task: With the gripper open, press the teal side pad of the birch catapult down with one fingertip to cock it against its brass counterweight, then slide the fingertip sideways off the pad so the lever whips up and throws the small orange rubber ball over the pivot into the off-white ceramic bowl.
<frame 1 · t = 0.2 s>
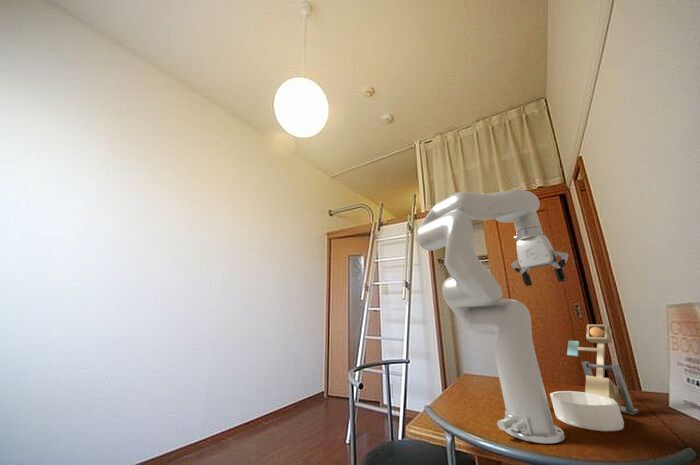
hand: (544, 283, 85), 37 cm above the table, tool pointing down, fingers open, 9 cm apart
ball: (597, 332, 83), point 20 cm above the table, touching lever
lever: (589, 361, 81), point 12 cm above the table, hinge at 50.0°, touching ball
pivot stand: (614, 408, 74), on the table
bowl: (587, 420, 67), on the table
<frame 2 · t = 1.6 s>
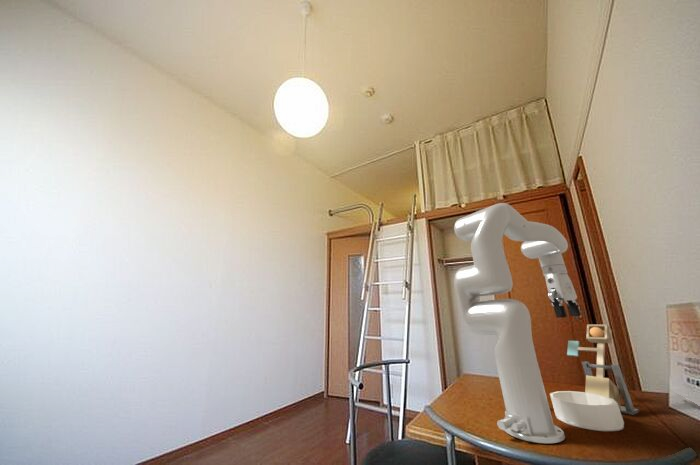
hand: (568, 316, 94), 26 cm above the table, tool pointing down, fingers open, 9 cm apart
nothing on the table moved.
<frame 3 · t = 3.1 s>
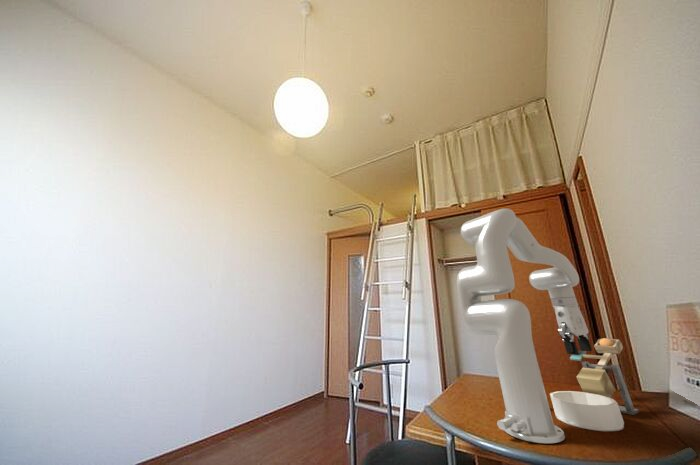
hand: (580, 352, 90), 13 cm above the table, tool pointing down, fingers open, 9 cm apart
ball: (606, 343, 84), point 17 cm above the table, tilted 30°, touching lever
lever: (591, 365, 81), point 11 cm above the table, hinge at 20.6°, touching ball, gripper
everything else where it was.
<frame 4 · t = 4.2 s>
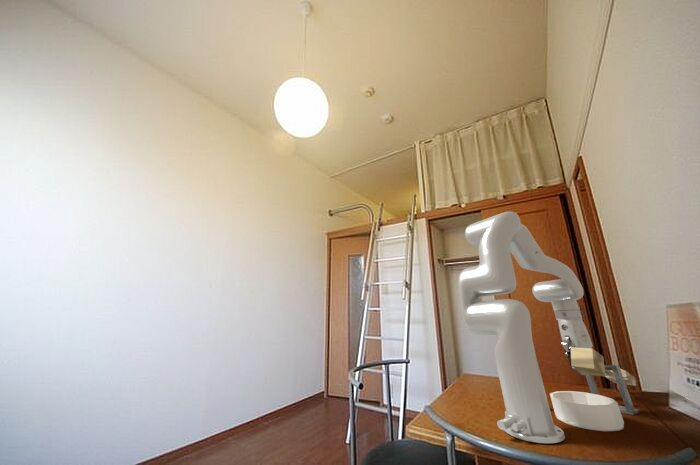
hand: (584, 366, 89), 9 cm above the table, tool pointing down, fingers open, 9 cm apart
ball: (619, 374, 81), point 8 cm above the table, tilted 99°, touching lever
lever: (591, 370, 80), point 9 cm above the table, hinge at -28.1°, touching ball, gripper
everything else where it was.
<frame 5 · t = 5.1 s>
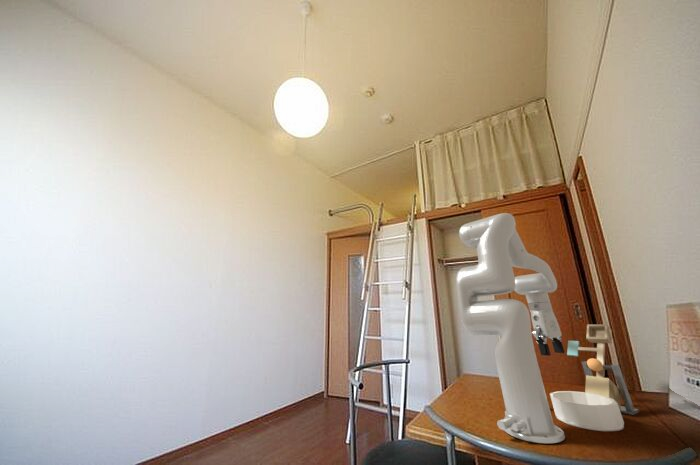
hand: (553, 354, 97), 12 cm above the table, tool pointing down, fingers open, 9 cm apart
ball: (594, 364, 77), point 12 cm above the table, tilted 18°
lever: (589, 361, 81), point 12 cm above the table, hinge at 50.0°
everything else where it was.
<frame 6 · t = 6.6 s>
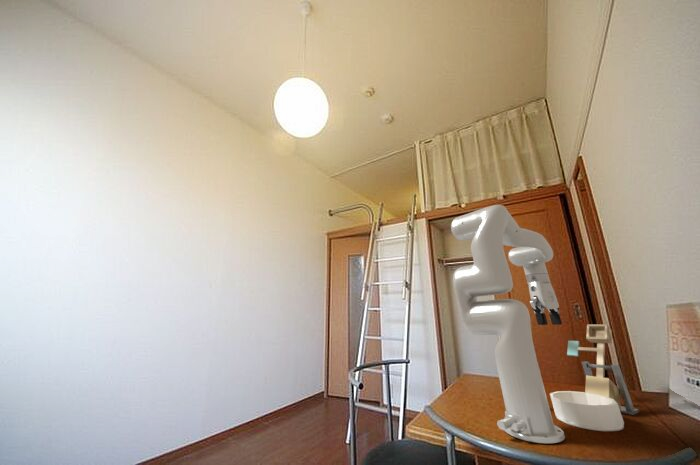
hand: (550, 324, 96), 23 cm above the table, tool pointing down, fingers open, 9 cm apart
ball: (579, 411, 67), point 3 cm above the table, tilted 141°, touching bowl
everything else where it was.
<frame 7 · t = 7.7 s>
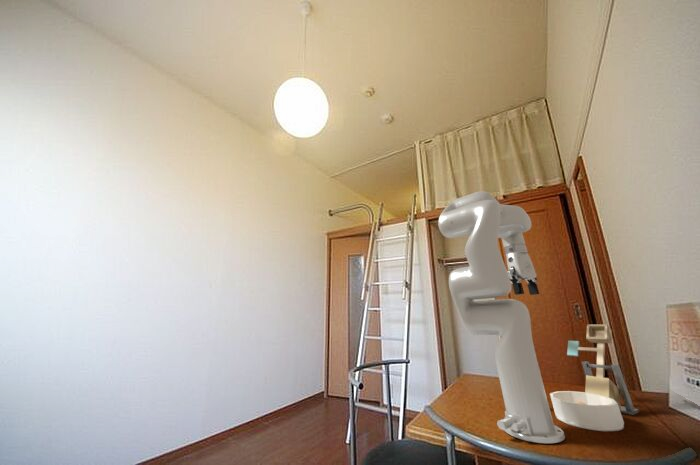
hand: (527, 294, 97), 34 cm above the table, tool pointing down, fingers open, 9 cm apart
ball: (583, 409, 68), point 3 cm above the table, tilted 157°, touching bowl
everything else where it was.
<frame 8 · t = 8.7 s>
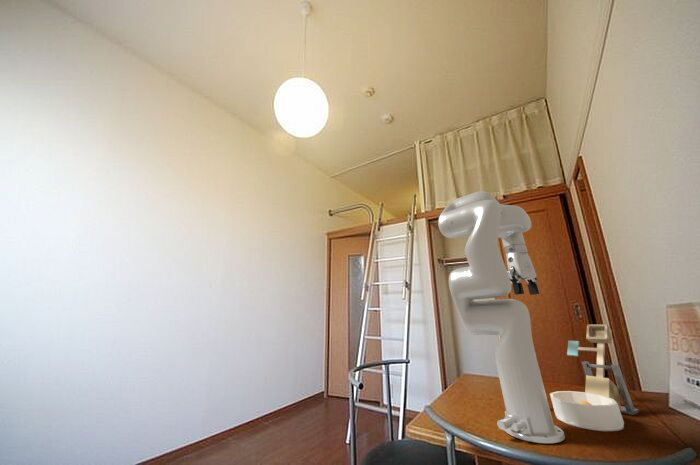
hand: (527, 294, 97), 34 cm above the table, tool pointing down, fingers open, 9 cm apart
ball: (586, 408, 68), point 3 cm above the table, tilted 100°, touching bowl
everything else where it was.
at the end: ball inside the target area on the bowl (1.1 cm from its centre), point 2.5 cm above the bowl's base; ball touching bowl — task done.
